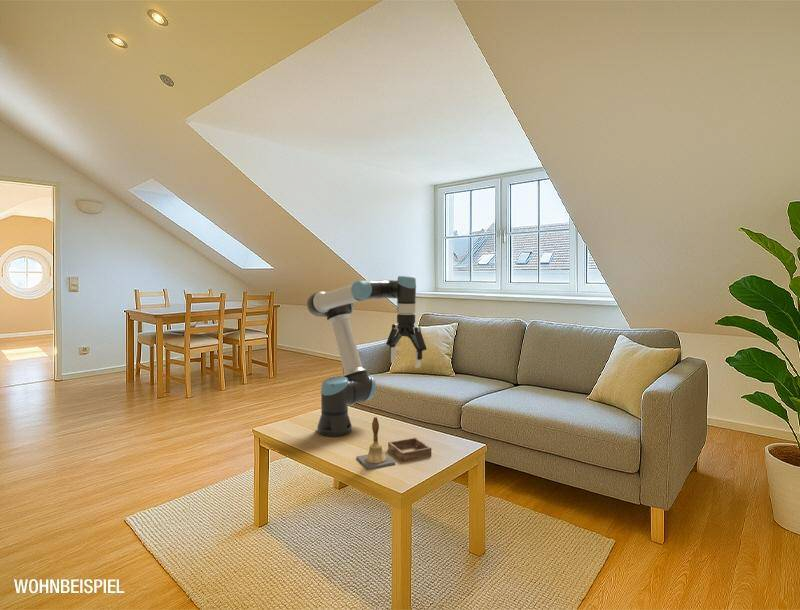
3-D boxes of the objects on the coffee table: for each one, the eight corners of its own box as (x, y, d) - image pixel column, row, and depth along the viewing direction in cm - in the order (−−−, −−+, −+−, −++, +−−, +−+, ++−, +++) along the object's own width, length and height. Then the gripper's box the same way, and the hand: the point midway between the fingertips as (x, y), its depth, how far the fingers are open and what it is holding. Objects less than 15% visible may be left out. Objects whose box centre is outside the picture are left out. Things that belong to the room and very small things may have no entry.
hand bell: (367, 464, 172) (367, 422, 171) (362, 455, 180) (363, 415, 179) (389, 462, 174) (389, 420, 173) (383, 453, 182) (384, 413, 181)
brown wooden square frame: (388, 449, 189) (388, 442, 188) (415, 444, 194) (415, 437, 194) (402, 461, 177) (402, 453, 177) (431, 455, 183) (431, 448, 183)
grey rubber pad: (356, 458, 179) (356, 456, 179) (382, 453, 184) (382, 451, 184) (367, 469, 170) (367, 467, 170) (395, 464, 175) (395, 462, 175)
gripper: (435, 315, 187) (434, 368, 189) (390, 310, 204) (390, 359, 206) (423, 316, 182) (422, 370, 183) (378, 312, 199) (377, 361, 200)
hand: (405, 364), depth 195 cm, fingers open, 13 cm apart
